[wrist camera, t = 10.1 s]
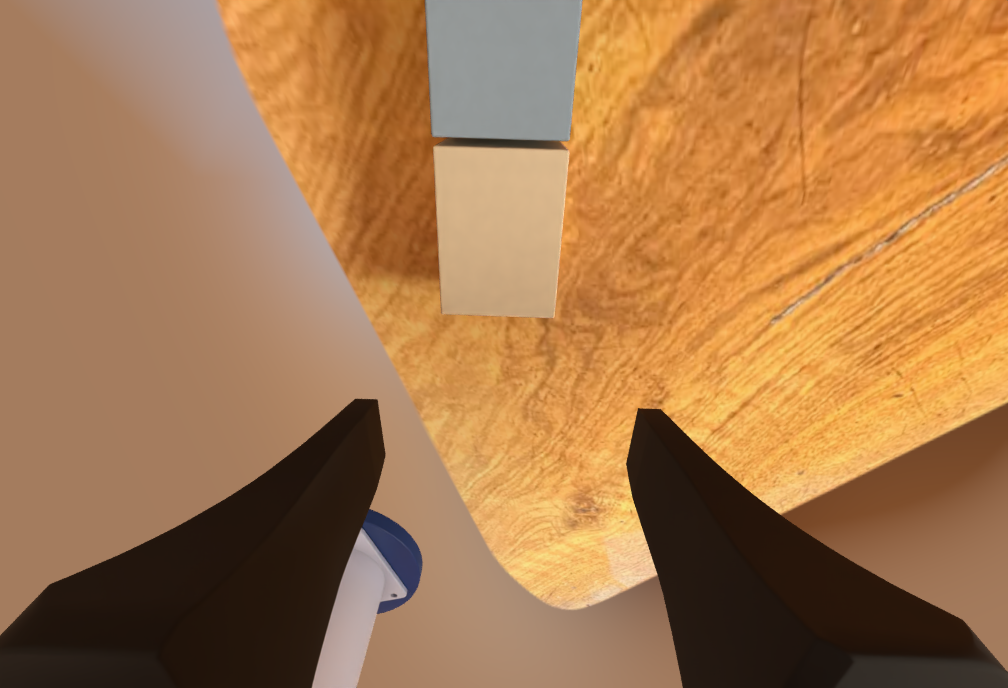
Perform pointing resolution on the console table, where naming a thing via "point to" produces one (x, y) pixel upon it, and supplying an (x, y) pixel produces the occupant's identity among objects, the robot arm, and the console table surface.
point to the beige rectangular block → (499, 225)
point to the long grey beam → (502, 68)
